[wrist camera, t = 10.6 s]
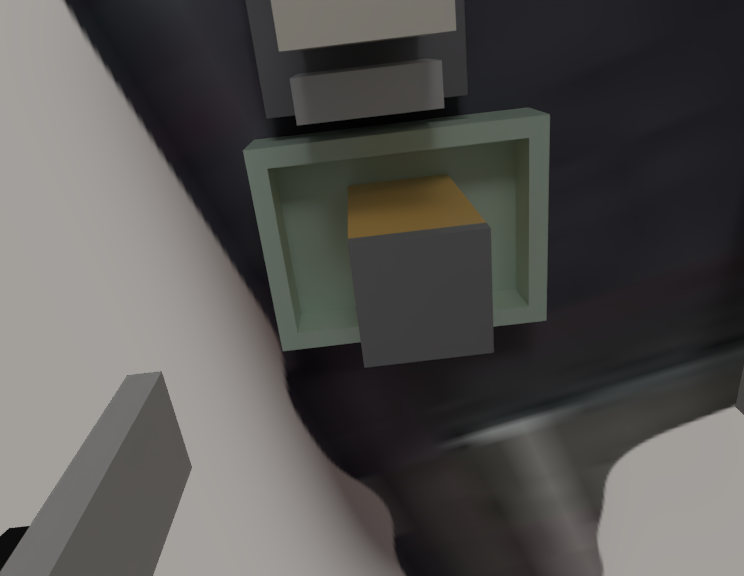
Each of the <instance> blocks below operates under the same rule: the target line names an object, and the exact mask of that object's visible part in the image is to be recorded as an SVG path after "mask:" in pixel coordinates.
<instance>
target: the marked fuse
mask: <svg viewBox="0 0 744 576" xmlns="http://www.w3.org/2000/svg"><path fill="white" fill-rule="evenodd" d="M348 249H349V257H350V264H351V272H352V279H353V287H354V294H355V302H356V309H357V317H358V324H359V332H360V339H361V347H362V354H363V362H364V368H366V367H375V366H384V365H392V364H401V363H409V362H418V361H427V360H435V359H444V358H452V357H461V356H470V355H478V354H487V353H494V335H493V295H492V255H491V228H490V226H489V225H488V224H487V223H486V221H485V220H484V219H483V218H482V216H481V215H480V214H479V213H478V211H477V210H476V209H475V208H474V206H473V205H472V204H471V203H470V201H469V200H468V199H467V198H466V196H465V195H464V194H463V193H462V191H461V190H460V189H459V188H458V187H457V185H456V184H455V183H454V182H453V180H452V179H451V178H450V177H449V175H448V174H443V175H434V176H426V177H417V178H409V179H400V180H392V181H383V182H375V183H366V184H358V185H349V186H348Z"/></svg>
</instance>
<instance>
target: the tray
mask: <svg viewBox="0 0 744 576" xmlns="http://www.w3.org/2000/svg"><path fill="white" fill-rule="evenodd" d="M549 142H550V114H547V113H544V112H541V111H538V110H535V109H532V108H529V107H527V108H518V109H510V110H502V111H493V112H485V113H476V114H468V115H459V116H451V117H442V118H434V119H426V120H417V121H409V122H400V123H392V124H383V125H375V126H367V127H358V128H350V129H341V130H333V131H324V132H316V133H307V134H299V135H291V136H282V137H274V138H265V139H257V140H253V141H252V142H251V143H250V144H249V145H248V146H247V147H246V148H245V149H244V150H243V153H244V158H245V164H246V169H247V174H248V179H249V184H250V189H251V194H252V199H253V204H254V209H255V214H256V219H257V224H258V229H259V234H260V239H261V244H262V249H263V254H264V259H265V264H266V269H267V274H268V279H269V284H270V289H271V294H272V299H273V304H274V310H275V315H276V320H277V325H278V330H279V335H280V340H281V345H282V350H283V351H289V350H298V349H306V348H315V347H324V346H332V345H341V344H349V343H358V342H361V339H360V332H359V324H358V317H357V309H356V302H355V294H354V287H353V279H352V272H351V264H350V257H349V249H348V186H349V185H358V184H366V183H375V182H383V181H392V180H400V179H409V178H417V177H426V176H434V175H443V174H448V175H449V177H450V178H451V179H452V180H453V182H454V183H455V184H456V185H457V187H458V188H459V189H460V190H461V191H462V193H463V194H464V195H465V196H466V198H467V199H468V200H469V201H470V203H471V204H472V205H473V206H474V208H475V209H476V210H477V211H478V213H479V214H480V215H481V216H482V218H483V219H484V220H485V221H486V223H487V224H488V225H489V226H490V228H491V255H492V295H493V327H495V326H504V325H512V324H521V323H529V322H538V321H546V314H547V257H548V199H549Z"/></svg>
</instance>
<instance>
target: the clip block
mask: <svg viewBox="0 0 744 576" xmlns="http://www.w3.org/2000/svg"><path fill="white" fill-rule="evenodd" d="M245 1H246V7H247V12H248V18H249V23H250V29H251V35H252V40H253V46H254V52H255V57H256V63H257V68H258V74H259V80H260V85H261V91H262V96H263V102H264V108H265V113H266V119H269V118H277V117H285V116H294V115H295V117H296V123H297V126H298V125H306V124H314V123H323V122H331V121H340V120H348V119H357V118H365V117H373V116H382V115H390V114H399V113H407V112H416V111H424V110H432V109H441V108H444V98H446V97H454V96H462V95H468V84H467V58H466V32H465V6H464V0H455V13H456V31H450V32H444V33H437V34H431V35H425V36H419V37H411V38H402V39H394V40H386V41H377V42H369V43H360V44H352V45H344V46H335V47H327V48H318V49H310V50H301V51H281V52H279V49H278V43H277V37H276V30H275V24H274V18H273V12H272V6H271V0H245Z"/></svg>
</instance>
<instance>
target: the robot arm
mask: <svg viewBox="0 0 744 576" xmlns="http://www.w3.org/2000/svg"><path fill="white" fill-rule="evenodd" d="M735 407H736V408H737V409H738V410H740V412H742V413H743V414H744V367H743V371H742V376H741V381H740V386H739V391H738V396H737V401H736V406H735ZM191 468H192V466H191V463H190V460H189V457H188V454H187V451H186V447H185V444H184V442H183V438H182V435H181V431H180V428H179V425H178V422H177V419H176V416H175V413H174V409H173V406H172V403H171V400H170V397H169V394H168V390H167V387H166V384H165V381H164V378H163V375H162V372H153V373H144V374H136V375H127V377H126V378H125V380H124V381H123V383H122V384H121V386H120V388H119V389H118V391H117V392H116V394H115V395H114V397H113V398H112V400H111V401H110V403H109V405H108V406H107V408H106V409H105V411H104V412H103V414H102V415H101V417H100V418H99V420H98V421H97V423H96V425H95V426H94V428H93V429H92V431H91V432H90V434H89V435H88V437H87V439H86V440H85V442H84V443H83V445H82V446H81V448H80V449H79V451H78V452H77V454H76V456H75V457H74V459H73V460H72V462H71V463H70V465H69V466H68V468H67V469H66V471H65V472H64V474H63V476H62V477H61V479H60V480H59V482H58V483H57V485H56V486H55V488H54V489H53V491H52V493H51V494H50V496H49V497H48V499H47V500H46V502H45V503H44V505H43V507H42V508H41V510H40V511H39V513H38V514H37V516H36V517H35V519H34V521H33V522H32V524H31V525H30V526H26V527H17V528H9V529H8V530H7V531H6V532H5V533H4V534H2V535H1V536H0V576H153V574H154V571H155V568H156V565H157V563H158V560H159V557H160V554H161V551H162V549H163V545H164V543H165V540H166V537H167V535H168V532H169V529H170V527H171V524H172V521H173V518H174V515H175V512H176V510H177V507H178V504H179V501H180V499H181V496H182V493H183V491H184V488H185V485H186V482H187V479H188V477H189V474H190V471H191Z"/></svg>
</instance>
